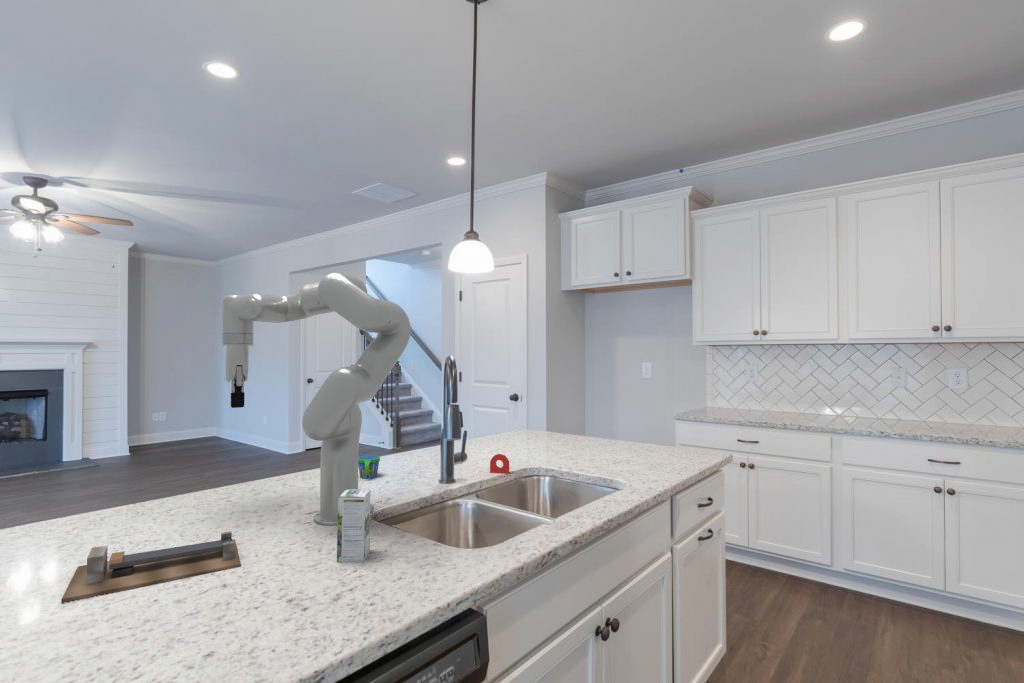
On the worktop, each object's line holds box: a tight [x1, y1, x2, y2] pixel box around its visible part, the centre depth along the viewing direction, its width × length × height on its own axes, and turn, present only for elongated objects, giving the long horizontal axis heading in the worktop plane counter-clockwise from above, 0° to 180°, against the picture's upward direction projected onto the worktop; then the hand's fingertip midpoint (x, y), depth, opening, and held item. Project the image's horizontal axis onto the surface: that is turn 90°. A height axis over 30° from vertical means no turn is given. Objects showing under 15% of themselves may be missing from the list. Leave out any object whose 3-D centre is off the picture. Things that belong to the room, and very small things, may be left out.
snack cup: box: [358, 454, 381, 480], centre depth 179 cm, size 11×8×7 cm
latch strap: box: [108, 537, 233, 570], centre depth 106 cm, size 21×5×2 cm, turn 122°
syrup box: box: [336, 488, 372, 563], centre depth 110 cm, size 6×6×14 cm
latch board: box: [60, 531, 242, 604], centre depth 105 cm, size 28×16×6 cm, turn 122°
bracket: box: [489, 453, 511, 475], centre depth 180 cm, size 12×4×8 cm, turn 74°
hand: (237, 407), depth 141 cm, fingers closed
